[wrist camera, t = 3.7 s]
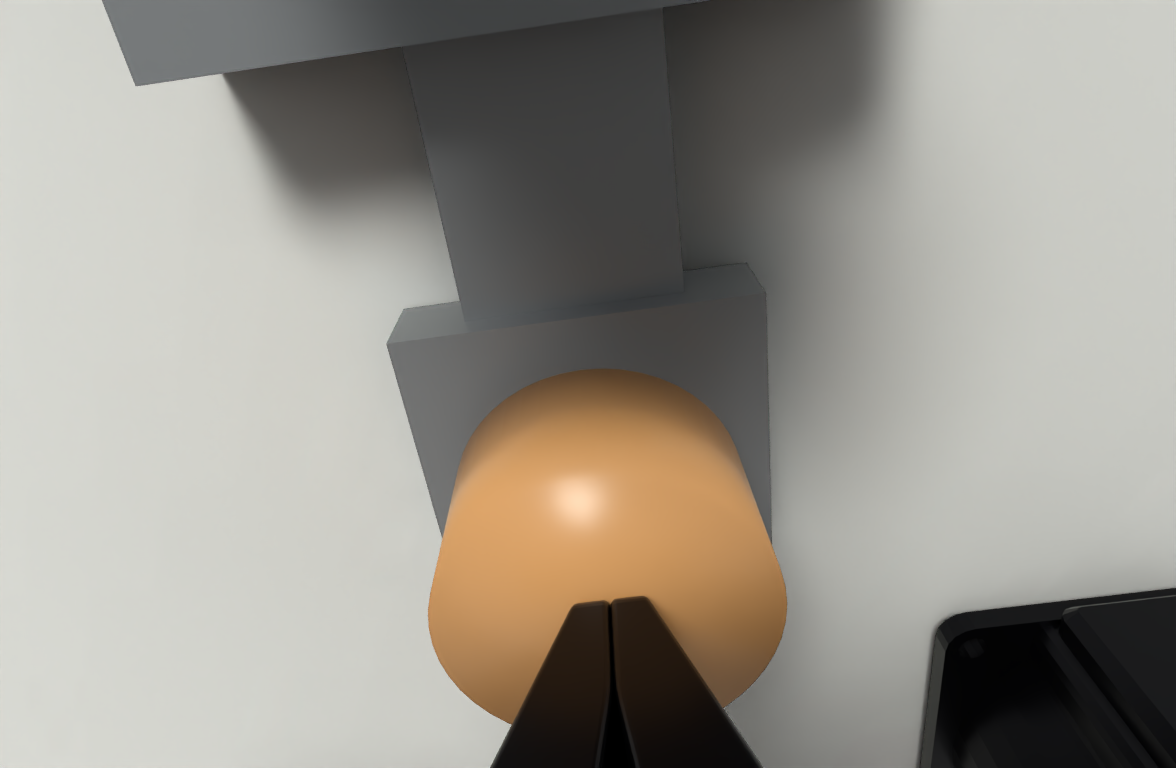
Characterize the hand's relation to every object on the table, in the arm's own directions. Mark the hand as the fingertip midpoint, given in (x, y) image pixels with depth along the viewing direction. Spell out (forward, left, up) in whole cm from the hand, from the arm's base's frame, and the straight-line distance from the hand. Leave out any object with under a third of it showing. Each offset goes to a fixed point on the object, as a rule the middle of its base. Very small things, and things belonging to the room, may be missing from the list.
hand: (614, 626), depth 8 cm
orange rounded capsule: (0, 0, -4) cm, 4 cm away
